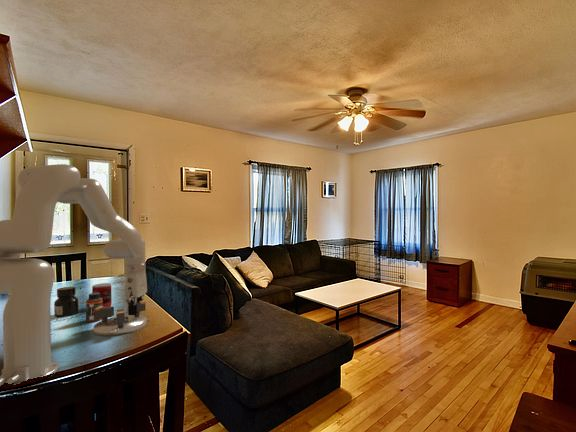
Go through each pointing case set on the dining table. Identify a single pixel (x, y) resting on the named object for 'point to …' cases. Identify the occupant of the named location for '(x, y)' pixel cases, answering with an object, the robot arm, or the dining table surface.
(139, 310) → the grey and orange block
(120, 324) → the grey chuck jaw
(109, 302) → the canned food
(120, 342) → the dining table surface
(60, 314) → the ink bottle
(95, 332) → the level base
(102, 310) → the orange-tipped grey bar
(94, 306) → the supplement bottle
